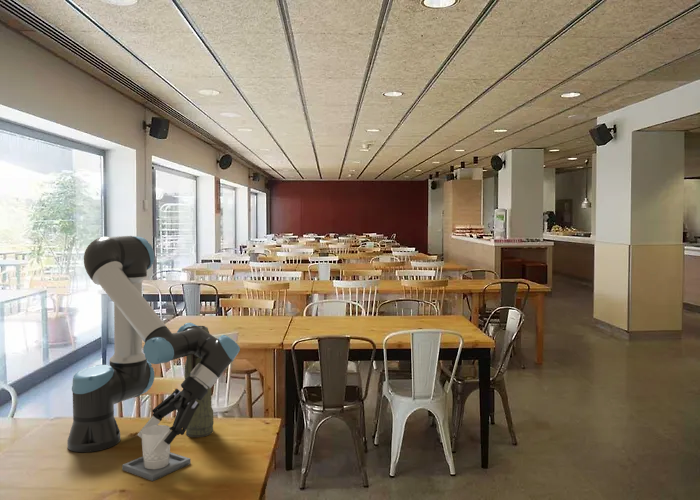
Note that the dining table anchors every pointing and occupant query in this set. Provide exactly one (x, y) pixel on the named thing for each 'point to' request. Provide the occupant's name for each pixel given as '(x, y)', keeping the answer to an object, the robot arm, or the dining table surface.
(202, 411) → the thermos
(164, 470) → the charcoal tray
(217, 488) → the dining table surface
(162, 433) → the white cup
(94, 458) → the dining table surface
